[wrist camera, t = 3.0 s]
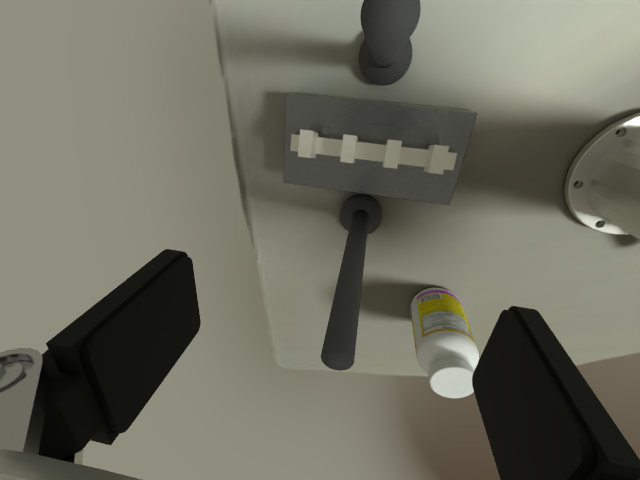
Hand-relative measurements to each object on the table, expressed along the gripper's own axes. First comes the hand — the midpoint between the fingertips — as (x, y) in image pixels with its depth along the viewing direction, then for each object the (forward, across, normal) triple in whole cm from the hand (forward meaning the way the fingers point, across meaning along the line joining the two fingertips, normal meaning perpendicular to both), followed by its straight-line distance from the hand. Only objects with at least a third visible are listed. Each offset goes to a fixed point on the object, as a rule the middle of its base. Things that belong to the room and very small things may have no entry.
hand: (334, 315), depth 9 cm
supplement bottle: (+29, -12, +20) cm, 38 cm away
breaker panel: (+29, 0, 0) cm, 29 cm away
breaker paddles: (+25, 0, 0) cm, 25 cm away
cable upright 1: (+29, 0, +8) cm, 30 cm away
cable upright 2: (+29, 0, -8) cm, 30 cm away
